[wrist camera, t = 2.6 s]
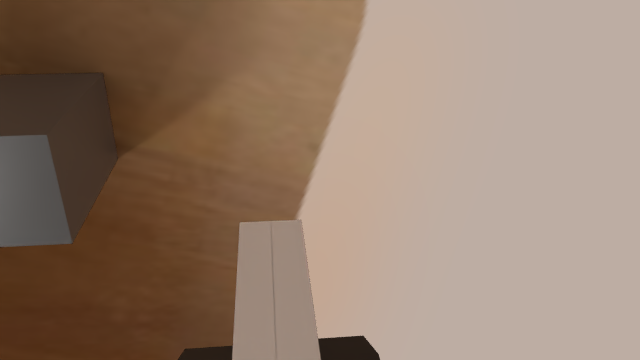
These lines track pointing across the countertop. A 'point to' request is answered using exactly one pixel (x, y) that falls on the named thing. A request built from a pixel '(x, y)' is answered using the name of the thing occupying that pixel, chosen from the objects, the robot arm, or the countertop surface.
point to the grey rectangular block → (52, 155)
